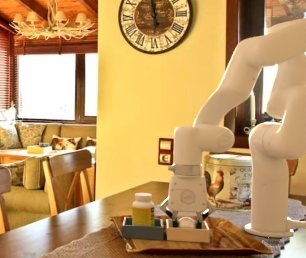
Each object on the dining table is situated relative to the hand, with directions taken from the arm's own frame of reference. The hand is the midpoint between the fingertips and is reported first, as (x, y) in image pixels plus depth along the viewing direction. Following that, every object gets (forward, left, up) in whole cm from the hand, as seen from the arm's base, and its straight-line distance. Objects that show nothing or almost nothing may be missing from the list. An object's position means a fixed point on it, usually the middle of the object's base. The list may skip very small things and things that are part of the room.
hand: (186, 233), depth 144 cm
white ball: (0, 0, 0) cm, 0 cm away
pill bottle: (+12, 0, 0) cm, 12 cm away
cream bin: (0, 0, -1) cm, 1 cm away
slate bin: (+12, 0, -1) cm, 12 cm away
